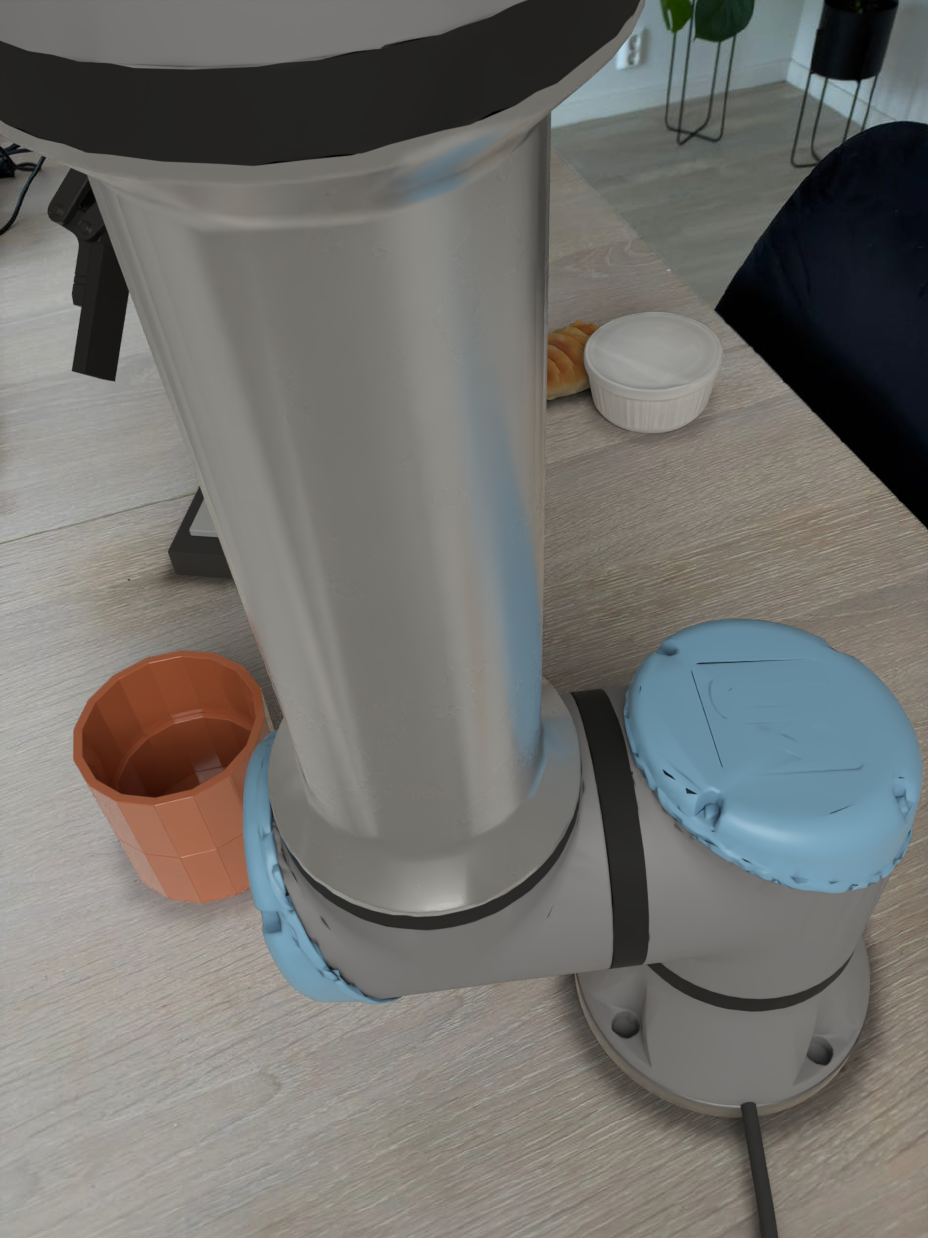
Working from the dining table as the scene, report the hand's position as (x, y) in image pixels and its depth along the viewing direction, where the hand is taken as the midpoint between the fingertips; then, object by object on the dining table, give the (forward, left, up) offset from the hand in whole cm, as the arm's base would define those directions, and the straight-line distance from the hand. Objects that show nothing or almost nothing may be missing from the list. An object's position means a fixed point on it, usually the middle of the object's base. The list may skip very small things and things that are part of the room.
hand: (208, 398), depth 55 cm
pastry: (+37, -15, -23) cm, 46 cm away
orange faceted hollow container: (-10, +2, -25) cm, 27 cm away
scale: (+19, +4, -25) cm, 31 cm away
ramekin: (+35, -22, -25) cm, 48 cm away
